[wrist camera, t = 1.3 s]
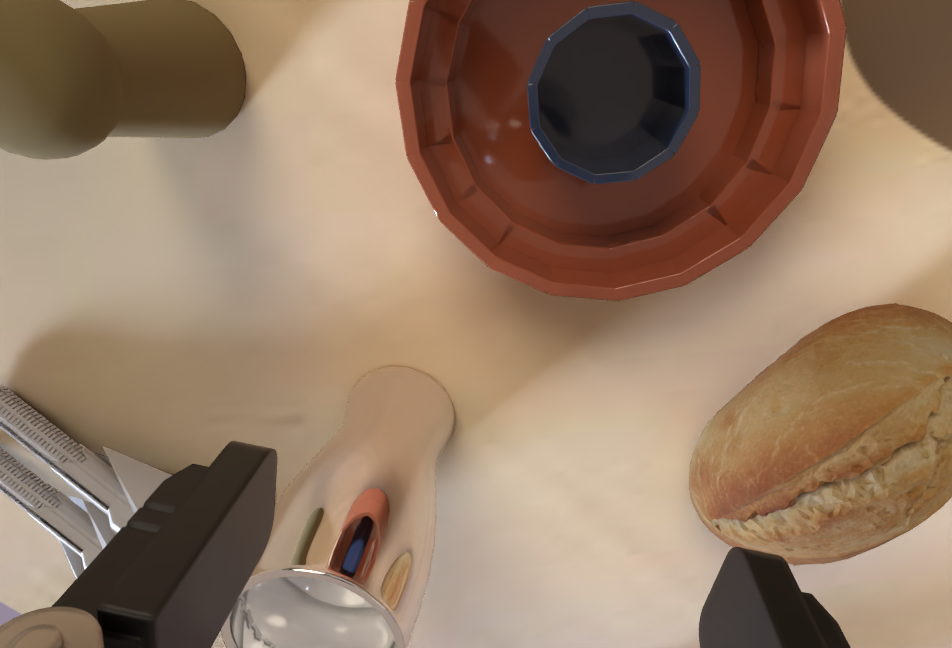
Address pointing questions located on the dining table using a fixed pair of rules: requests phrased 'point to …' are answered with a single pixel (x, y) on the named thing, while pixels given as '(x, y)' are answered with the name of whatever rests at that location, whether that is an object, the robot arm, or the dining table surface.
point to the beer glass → (354, 527)
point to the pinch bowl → (614, 92)
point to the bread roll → (834, 440)
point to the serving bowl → (622, 203)
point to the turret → (72, 483)
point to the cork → (113, 74)
